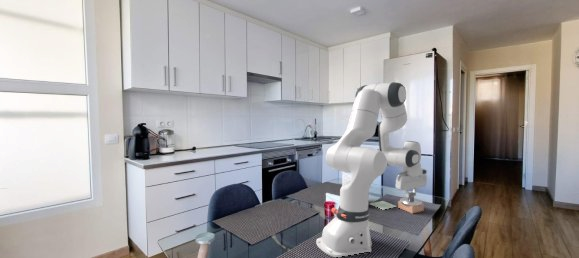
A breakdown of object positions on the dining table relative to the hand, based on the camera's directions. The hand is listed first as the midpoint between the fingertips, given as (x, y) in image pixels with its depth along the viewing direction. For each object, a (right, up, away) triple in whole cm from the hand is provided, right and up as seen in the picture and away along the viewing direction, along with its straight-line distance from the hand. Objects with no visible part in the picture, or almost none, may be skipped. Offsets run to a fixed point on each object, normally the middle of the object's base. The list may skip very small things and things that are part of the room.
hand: (410, 196), depth 138 cm
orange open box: (0, -7, 0) cm, 7 cm away
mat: (-13, -7, +6) cm, 16 cm away
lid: (0, -3, 0) cm, 3 cm away
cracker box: (-28, -7, +11) cm, 31 cm away
